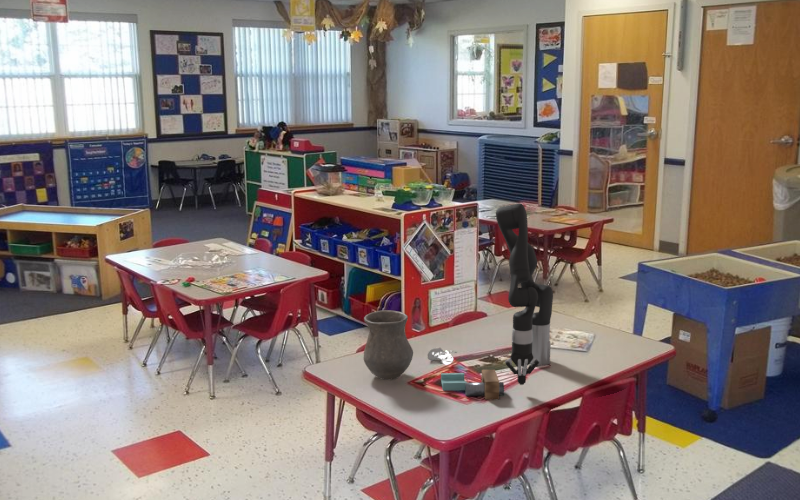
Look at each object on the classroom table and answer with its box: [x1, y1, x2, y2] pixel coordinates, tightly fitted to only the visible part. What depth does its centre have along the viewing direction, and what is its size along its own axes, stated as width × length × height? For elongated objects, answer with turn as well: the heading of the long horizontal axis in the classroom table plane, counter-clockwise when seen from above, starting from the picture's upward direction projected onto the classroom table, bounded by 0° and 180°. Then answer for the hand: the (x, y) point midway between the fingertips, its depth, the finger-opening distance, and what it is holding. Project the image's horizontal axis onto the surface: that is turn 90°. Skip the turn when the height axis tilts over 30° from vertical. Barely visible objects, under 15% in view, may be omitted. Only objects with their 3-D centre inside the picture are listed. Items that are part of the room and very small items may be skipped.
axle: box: [464, 381, 505, 397], centre depth 289 cm, size 14×5×5 cm, turn 92°
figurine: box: [427, 347, 458, 366], centre depth 322 cm, size 9×6×12 cm
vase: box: [363, 309, 414, 381], centre depth 305 cm, size 20×19×25 cm
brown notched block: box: [481, 369, 500, 401], centre depth 290 cm, size 5×12×7 cm, turn 1°
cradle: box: [440, 372, 468, 391], centre depth 298 cm, size 9×10×3 cm
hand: (521, 384), depth 289 cm, fingers closed
